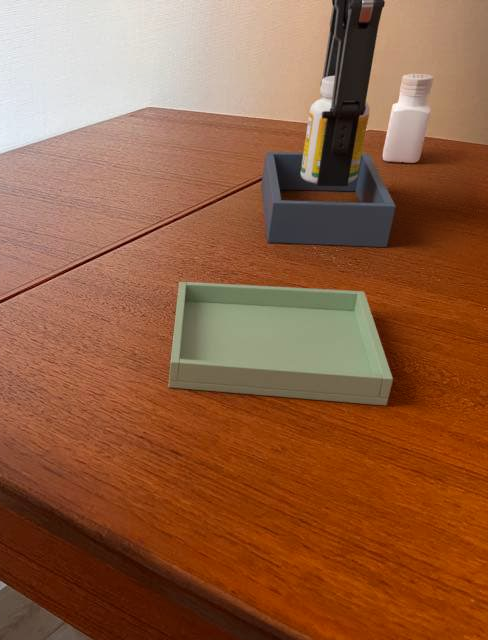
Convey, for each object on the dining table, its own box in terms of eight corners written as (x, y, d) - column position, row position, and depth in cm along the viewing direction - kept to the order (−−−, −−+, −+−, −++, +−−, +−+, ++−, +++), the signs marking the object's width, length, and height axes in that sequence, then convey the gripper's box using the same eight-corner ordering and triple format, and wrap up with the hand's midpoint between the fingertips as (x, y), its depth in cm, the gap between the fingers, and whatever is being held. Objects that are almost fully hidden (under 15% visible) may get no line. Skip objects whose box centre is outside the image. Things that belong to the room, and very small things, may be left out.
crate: (362, 189, 95) (369, 153, 93) (386, 247, 80) (396, 206, 78) (260, 187, 97) (265, 151, 95) (267, 242, 83) (273, 202, 81)
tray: (359, 315, 69) (364, 291, 68) (386, 406, 57) (393, 378, 56) (177, 304, 72) (179, 281, 71) (168, 387, 61) (170, 361, 60)
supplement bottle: (288, 176, 88) (301, 78, 83) (331, 168, 90) (346, 71, 85) (325, 189, 84) (341, 86, 79) (369, 180, 85) (388, 79, 80)
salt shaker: (418, 155, 104) (437, 73, 99) (418, 164, 101) (438, 80, 96) (382, 153, 106) (399, 72, 101) (381, 162, 103) (398, 79, 98)
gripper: (315, -90, 83) (284, 151, 95) (335, -82, 68) (295, 204, 80) (400, -96, 81) (357, 151, 93) (440, -89, 66) (383, 205, 78)
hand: (329, 175), depth 86 cm, fingers closed on supplement bottle, 5 cm apart
